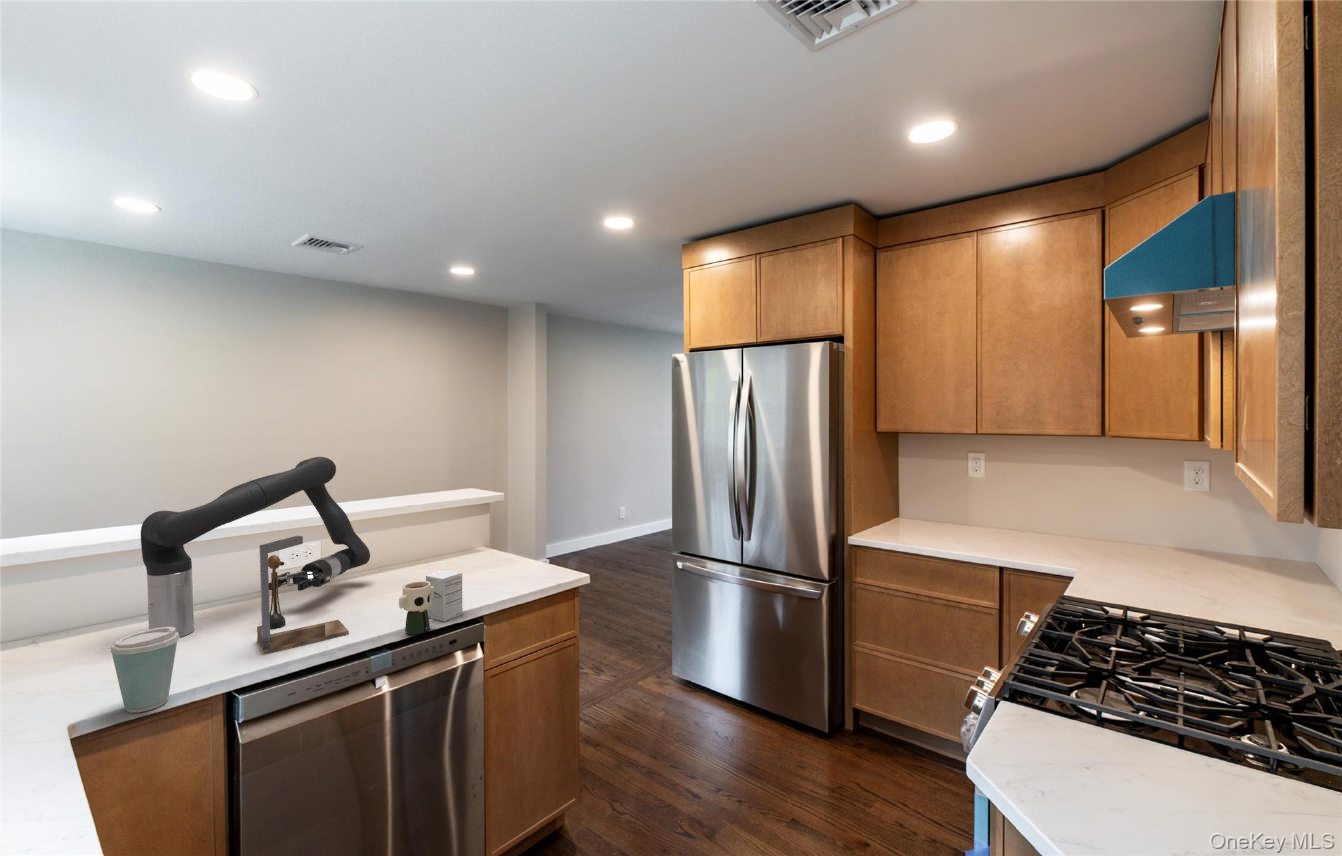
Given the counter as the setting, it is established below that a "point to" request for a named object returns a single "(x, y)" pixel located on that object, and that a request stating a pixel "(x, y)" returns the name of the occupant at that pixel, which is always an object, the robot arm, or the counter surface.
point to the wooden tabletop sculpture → (275, 618)
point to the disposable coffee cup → (145, 667)
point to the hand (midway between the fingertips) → (284, 587)
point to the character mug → (416, 605)
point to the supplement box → (445, 595)
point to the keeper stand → (264, 637)
